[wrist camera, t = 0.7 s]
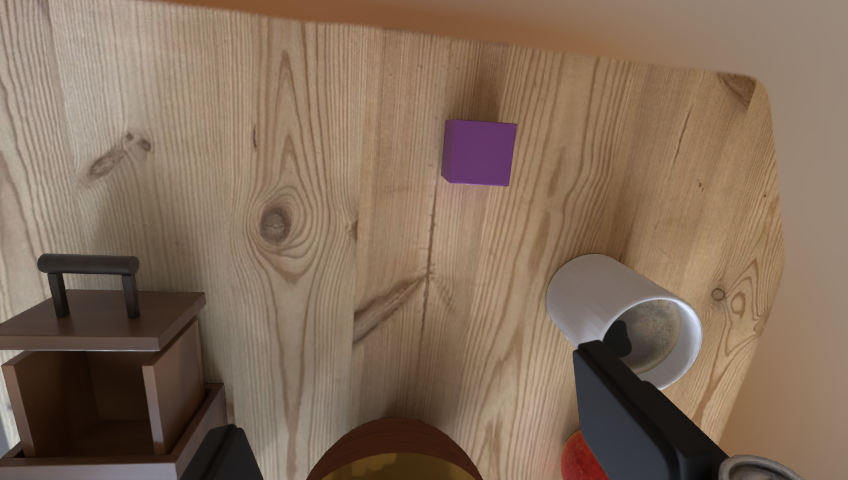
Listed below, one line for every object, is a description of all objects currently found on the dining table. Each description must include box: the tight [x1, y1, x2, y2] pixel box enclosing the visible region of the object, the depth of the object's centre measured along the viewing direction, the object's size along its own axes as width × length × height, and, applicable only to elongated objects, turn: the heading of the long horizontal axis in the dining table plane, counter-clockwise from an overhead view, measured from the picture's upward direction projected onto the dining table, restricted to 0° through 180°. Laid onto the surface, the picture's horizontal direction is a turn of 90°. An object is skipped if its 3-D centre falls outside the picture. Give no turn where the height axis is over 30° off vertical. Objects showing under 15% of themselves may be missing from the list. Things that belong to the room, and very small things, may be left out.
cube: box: [441, 119, 517, 186], centre depth 33 cm, size 5×5×5 cm
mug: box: [546, 254, 703, 390], centre depth 36 cm, size 11×10×10 cm
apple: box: [561, 430, 610, 480], centre depth 41 cm, size 8×8×10 cm
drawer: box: [0, 253, 206, 458], centre depth 32 cm, size 18×11×8 cm, turn 176°
